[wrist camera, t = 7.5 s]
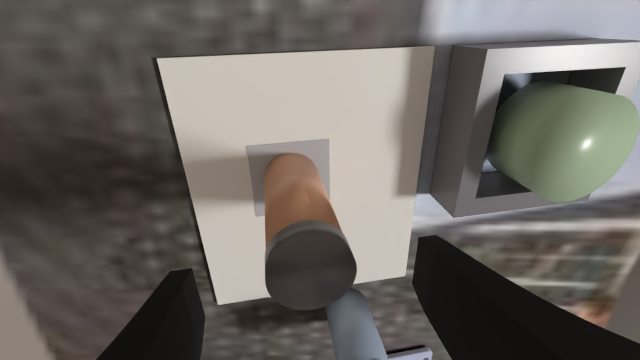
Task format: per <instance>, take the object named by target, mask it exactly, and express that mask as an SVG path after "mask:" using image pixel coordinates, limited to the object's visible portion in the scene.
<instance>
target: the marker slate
mask: <svg viewBox="0 0 640 360" xmlns="http://www.w3.org/2000/svg"><path fill="white" fill-rule="evenodd" d="M325 311H326V315H327V320H328V324H329V328H330V333H331V337H332V341H333V346H334V350H335V354H336V358H337V360H389V359H388V357H387V354H386V352H385V349H384V346H383V344H382V341H381V339H380V336H379V333H378V331H377V328H376V326H375V323H374V321H373V318H372V315H371V313H370V310H369V308H368V305H367V302H366V300H365V297H364V295H363V294H362V293H361V292H360V291H358V290H355V289H349V291H348V292H347V293H346V294H345V295H344V296H342V297H341V298H340V299H338V300H337V301H335V302H334V303H332V304H330V305H327V306H325Z"/></svg>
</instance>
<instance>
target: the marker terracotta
mask: <svg viewBox="0 0 640 360" xmlns="http://www.w3.org/2000/svg"><path fill="white" fill-rule="evenodd" d="M263 182H264V212H265V242H266V251H265V284H266V288H267V291H268V293H269V295H270V296H271V297H272V298H273V299H274V300H275V301H276V302H277V303H279V304H281V305H282V306H285V307H287V308H291V309H296V310H313V309H318V308H322V307H325V306H327V305H330V304H332V303H334V302H335V301H337V300H338V299H340V298H341V297H342V296H344V295H345V294H346V293H347V292H348V291H349V289H350V288H351V287H352V285H353V283H354V281H355V278H356V274H357V264H356V261H355V258H354V256H353V253H352V251H351V248H350V246H349V243H348V241H347V239H346V237H345V235H344V234H343V232H342V230H341V227H340V225H339V222H338V220H337V217H336V215H335V212H334V210H333V207H332V205H331V202H330V200H329V197H328V195H327V193H326V190H325V188H324V185H323V183H322V180H321V178H320V175H319V173H318V170H317V168H316V166H315V164H314V163H313V161H312V160H311V159H309V158H308V157H306V156H304V155H302V154H299V153H285V154H282V155H279V156H277V157H276V158H274V159H273V160H272V161H271V162H270V163H269V164H268V165H267V167H266V169H265V172H264V177H263Z"/></svg>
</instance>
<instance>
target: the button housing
mask: <svg viewBox="0 0 640 360" xmlns="http://www.w3.org/2000/svg"><path fill="white" fill-rule="evenodd" d="M566 70H573V71H572V74H571V77H570V80H569V83H568V85H572V86H577V87H582V88H587V89H592V90H597V91H602V92H607V93H612V94H617V95H621V96H624V97H626V98H627V99H629V100H631V98H632V95H633V93H634V91H635V88H636V86H637V84H638V81H639V79H640V41H638V40H618V39H580V40H557V41H534V42H512V43H489V44H466V45H453V49H452V55H451V62H450V68H449V75H448V81H447V88H446V94H445V100H444V107H443V113H442V120H441V126H440V133H439V139H438V146H437V152H436V158H435V165H434V171H433V178H432V184H431V191H430V195H431V196H432V197H433V198H434V199H435V200H436V201H437V202H438V203H439V204H440V205H441V206H442V207H443V208H444V209H445V210H446V211H447V212H448V213H449V214H450V215H451V216H452V217H453V218H455V217H463V216H470V215H478V214H486V213H493V212H501V211H509V210H516V209H524V208H532V207H539V206H547V205H555V204H563V203H570V202H578V201H586V200H588V199H589V196H590V194H591V193H590V194H588V195H586V196H584V197H581V198H579V199H576V200H573V201H568V202H552V201H548V200H546V199H544V198H542V197H541V196H539V195H537V194H536V193H534V192H533V191H531V190H529V189H528V188H526V187H525V186H523V185H521V184H520V183H518V182H516V181H515V180H513V179H512V178H510V177H508V176H507V175H505V174H504V173H502V172H500V171H499V172H490V173H481V172H482V168H483V163H484V159H485V155H486V151H487V146H488V142H489V138H490V133H491V129H492V125H493V121H494V116H495V112H496V108H497V103H498V99H499V95H500V91H501V86H502V82H503V78H504V74H516V73H533V72H550V71H566Z"/></svg>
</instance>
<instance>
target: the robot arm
mask: <svg viewBox="0 0 640 360" xmlns="http://www.w3.org/2000/svg"><path fill="white" fill-rule="evenodd" d="M412 285H413V287H414V289H415V292H416V294H417V297H418V299H419V301H420V303H421V306H422V308H423V310H424V312H425V314H426V316H427V318H428V319H429V321H430V323H431V325H432V326H433V328H434V330H435V331H436V333H437V335H438V337H439V338H440V340H441V342H442V343H443V345H444V347H445V348H446V350H447V352H448V353H449V355H450V357H451V359H452V360H640V344H639V343H637V342H634V341H632V340H630V339H627V338H625V337H623V336H620V335H618V334H615V333H613V332H611V331H608V330H606V329H604V328H602V327H599V326H597V325H595V324H593V323H591V322H588V321H586V320H584V319H582V318H580V317H578V316H576V315H574V314H572V313H570V312H568V311H566V310H564V309H562V308H559V307H557V306H555V305H553V304H552V303H550V302H548V301H546V300H544V299H542V298H540V297H538V296H536V295H535V294H533V293H531V292H529V291H527V290H526V289H524V288H522V287H520V286H518V285H517V284H515V283H513V282H512V281H510V280H508V279H506V278H505V277H503V276H501V275H500V274H498V273H496V272H495V271H493V270H491V269H490V268H488V267H487V266H485V265H483V264H482V263H480V262H479V261H477V260H475V259H474V258H472V257H471V256H469V255H467V254H466V253H464V252H463V251H461V250H460V249H458V248H456V247H455V246H453V245H452V244H450V243H448V242H447V241H445V240H443V239H442V238H440V237H438V236H437V235H433V236H426V237H419V239H418V246H417V253H416V260H415V267H414V274H413V281H412ZM204 323H205V314H204V311H203V307H202V303H201V300H200V296H199V293H198V289H197V285H196V282H195V278H194V275H193V271H192V268H190V269H183V270H176V271H170V272H169V273H168V274H167V276H166V277H165V278H164V279H163V281H162V282H161V283H160V284H159V286H158V287H157V288H156V289H155V291H154V292H153V293H152V294H151V296H150V297H149V298H148V299H147V301H146V302H145V303H144V304H143V306H142V307H141V308H140V309H139V311H138V312H137V313H136V314H135V315H134V317H133V318H132V319H131V320H130V321H129V323H128V324H127V325H126V326H125V327H124V329H123V330H122V331H121V332H120V333H119V335H118V336H117V337H116V338H115V339H114V340H113V342H112V343H111V344H110V345H109V346H108V347H107V348H106V349H105V350H104V352H103V353H102V354H101V355H100V356H99V357H98V358H97V359H96V360H200V356H201V351H202V343H203V334H204ZM387 357H388V359H389V360H431V358H432V351H431V349H430V348H427V347H425V348H420V349H414V350H409V351H404V352H399V353H394V354H388V355H387Z"/></svg>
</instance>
